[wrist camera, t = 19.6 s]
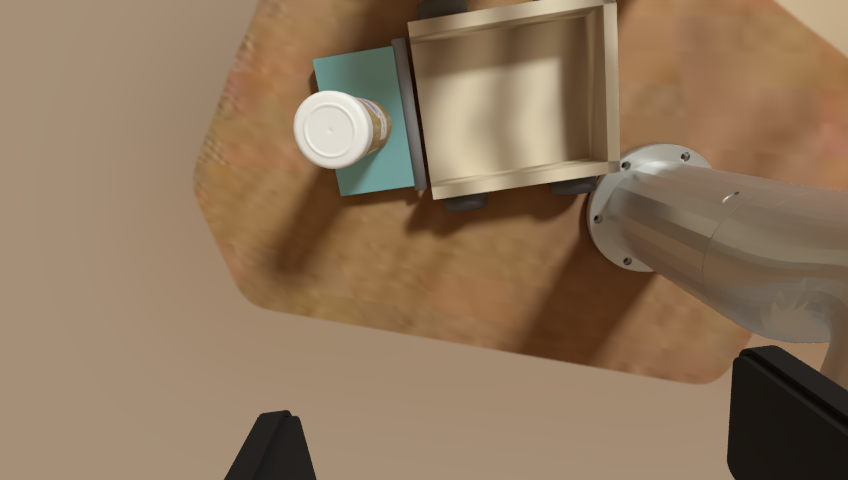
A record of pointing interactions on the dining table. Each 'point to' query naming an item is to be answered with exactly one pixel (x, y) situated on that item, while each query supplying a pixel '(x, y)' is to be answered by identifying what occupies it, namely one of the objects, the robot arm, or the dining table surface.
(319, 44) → the dining table surface
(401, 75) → the tailgate
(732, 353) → the dining table surface
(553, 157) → the cargo bed
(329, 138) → the sprinkles bottle
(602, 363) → the dining table surface
